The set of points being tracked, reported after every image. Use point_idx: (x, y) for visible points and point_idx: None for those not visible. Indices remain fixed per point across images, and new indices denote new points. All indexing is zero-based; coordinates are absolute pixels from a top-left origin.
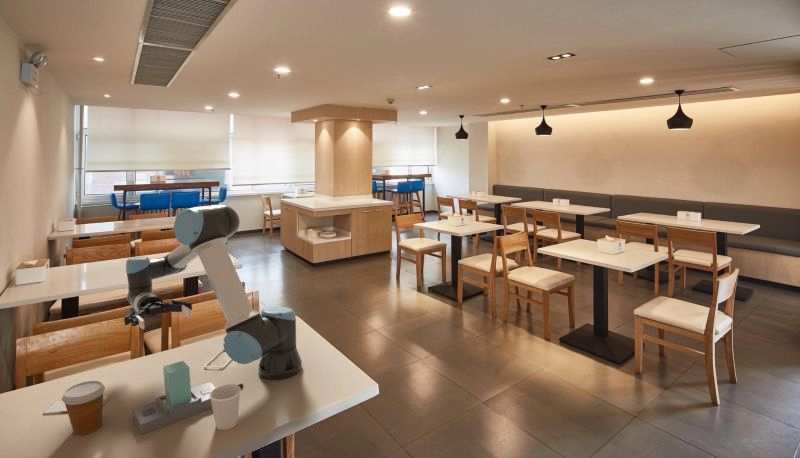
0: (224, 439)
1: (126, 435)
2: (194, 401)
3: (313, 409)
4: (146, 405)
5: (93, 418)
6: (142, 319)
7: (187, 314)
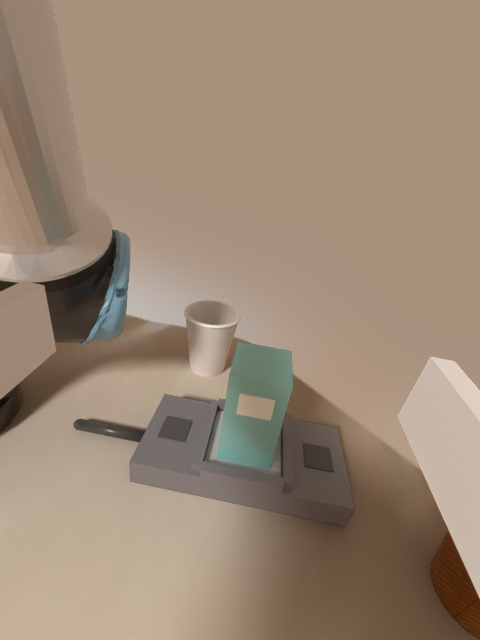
0: (231, 349)
1: (359, 466)
2: None
3: None
4: (317, 492)
5: None
6: (452, 382)
7: (35, 342)
